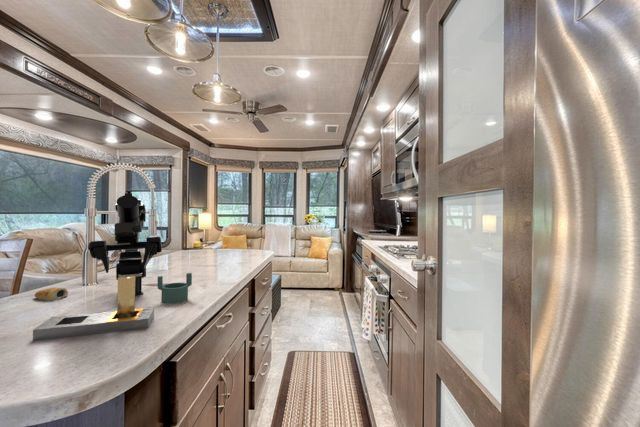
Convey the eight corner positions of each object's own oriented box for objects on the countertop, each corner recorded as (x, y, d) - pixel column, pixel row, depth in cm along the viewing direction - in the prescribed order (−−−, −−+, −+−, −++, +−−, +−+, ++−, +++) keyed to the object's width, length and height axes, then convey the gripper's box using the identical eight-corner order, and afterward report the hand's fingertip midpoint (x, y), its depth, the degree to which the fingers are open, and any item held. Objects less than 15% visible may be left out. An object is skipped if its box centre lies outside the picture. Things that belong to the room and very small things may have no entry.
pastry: (27, 300, 100) (27, 289, 100) (47, 295, 107) (47, 284, 107) (52, 301, 100) (52, 290, 100) (71, 296, 106) (71, 285, 106)
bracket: (193, 297, 107) (193, 272, 107) (175, 305, 98) (175, 278, 98) (172, 295, 109) (172, 271, 109) (152, 302, 100) (153, 276, 100)
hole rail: (32, 340, 70) (32, 329, 70) (51, 326, 79) (51, 316, 78) (148, 328, 79) (148, 317, 78) (154, 316, 87) (154, 307, 87)
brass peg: (126, 321, 83) (127, 275, 83) (138, 322, 82) (138, 276, 82) (113, 326, 79) (114, 278, 79) (125, 328, 78) (125, 279, 78)
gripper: (87, 214, 87) (79, 258, 78) (159, 211, 95) (159, 251, 86) (95, 237, 95) (89, 279, 86) (161, 232, 103) (162, 271, 94)
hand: (125, 270), depth 88 cm, fingers open, 9 cm apart
